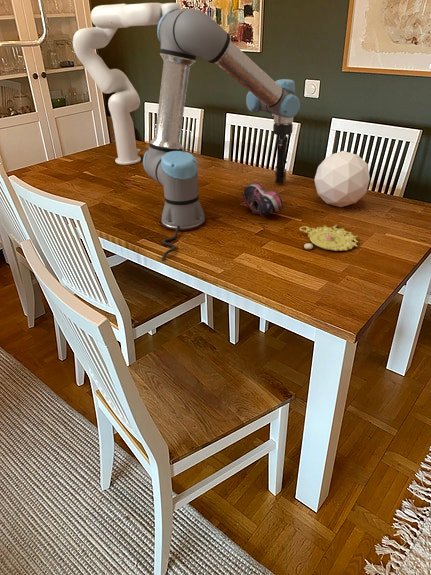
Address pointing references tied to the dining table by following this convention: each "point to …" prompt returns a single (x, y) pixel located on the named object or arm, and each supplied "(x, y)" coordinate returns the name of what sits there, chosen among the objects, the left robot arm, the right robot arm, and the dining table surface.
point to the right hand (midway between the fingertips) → (280, 180)
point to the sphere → (342, 179)
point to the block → (283, 175)
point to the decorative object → (330, 238)
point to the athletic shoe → (261, 200)
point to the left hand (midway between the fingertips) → (176, 84)
